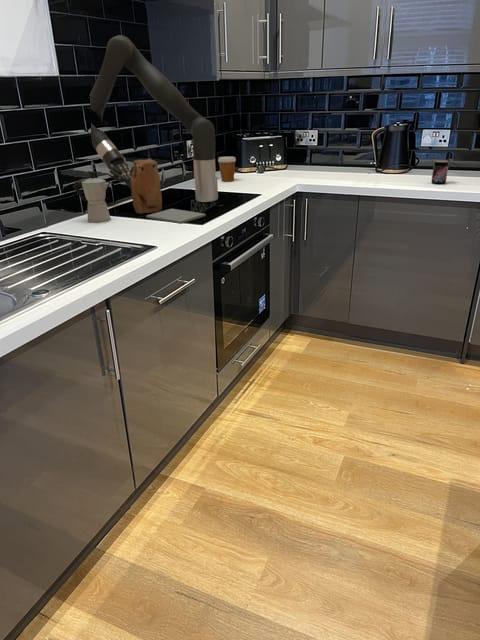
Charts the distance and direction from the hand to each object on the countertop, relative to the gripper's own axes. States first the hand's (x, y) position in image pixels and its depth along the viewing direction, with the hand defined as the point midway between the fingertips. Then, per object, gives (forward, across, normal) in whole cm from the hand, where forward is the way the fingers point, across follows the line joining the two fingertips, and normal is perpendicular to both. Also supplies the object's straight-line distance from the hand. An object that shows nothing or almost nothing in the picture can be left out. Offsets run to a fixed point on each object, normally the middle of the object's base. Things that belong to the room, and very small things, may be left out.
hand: (133, 188), depth 195 cm
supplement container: (+67, +119, -53) cm, 147 cm away
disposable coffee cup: (-1, +74, +14) cm, 75 cm away
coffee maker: (+7, -20, +6) cm, 22 cm away
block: (+12, 0, +1) cm, 12 cm away
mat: (+22, 0, -10) cm, 24 cm away
